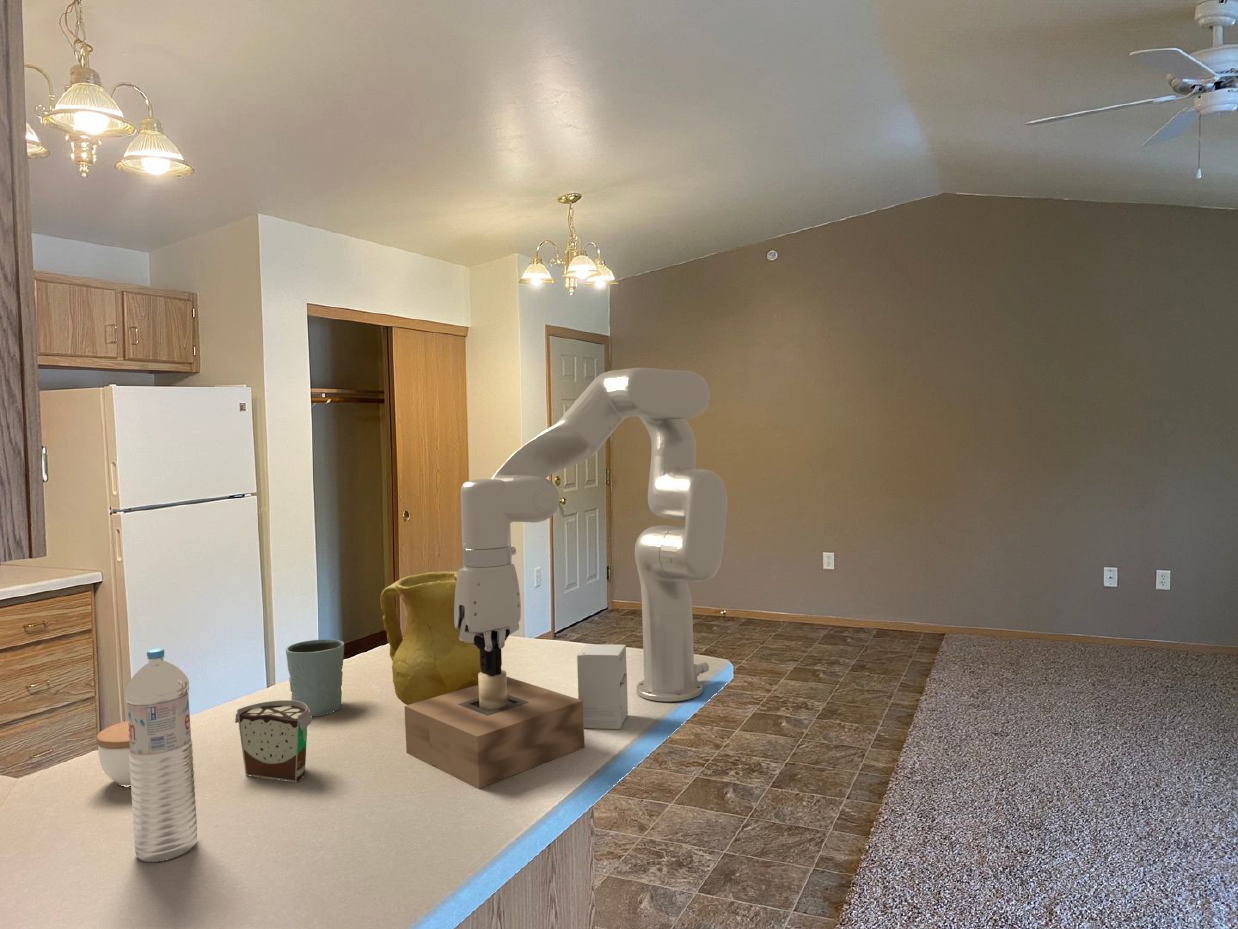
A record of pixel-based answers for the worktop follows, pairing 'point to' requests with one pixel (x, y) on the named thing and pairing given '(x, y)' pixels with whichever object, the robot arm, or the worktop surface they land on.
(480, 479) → the robot arm
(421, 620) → the pitcher
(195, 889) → the worktop surface
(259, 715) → the food container
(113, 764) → the lidded jar
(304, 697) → the grey-green cup
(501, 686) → the peg
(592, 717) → the supplement box
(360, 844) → the worktop surface
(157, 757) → the water bottle
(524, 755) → the peg block
